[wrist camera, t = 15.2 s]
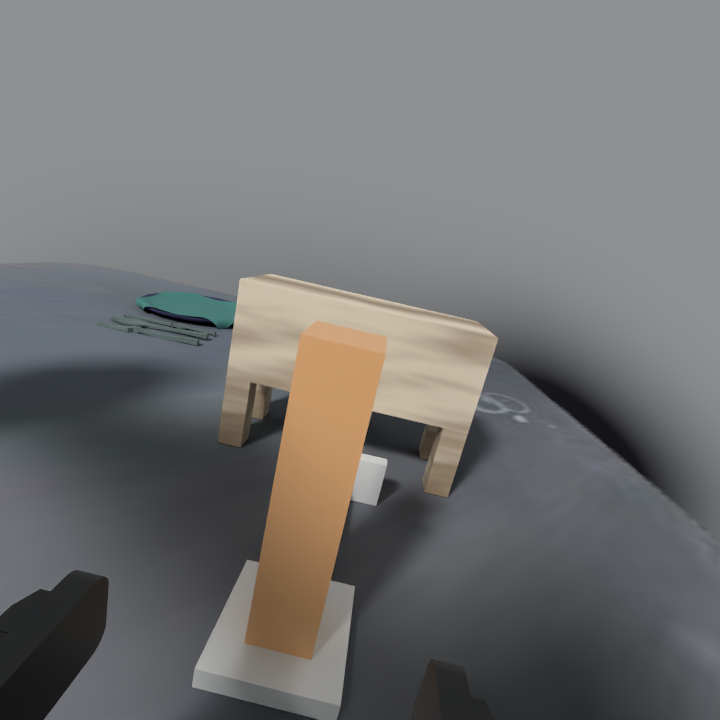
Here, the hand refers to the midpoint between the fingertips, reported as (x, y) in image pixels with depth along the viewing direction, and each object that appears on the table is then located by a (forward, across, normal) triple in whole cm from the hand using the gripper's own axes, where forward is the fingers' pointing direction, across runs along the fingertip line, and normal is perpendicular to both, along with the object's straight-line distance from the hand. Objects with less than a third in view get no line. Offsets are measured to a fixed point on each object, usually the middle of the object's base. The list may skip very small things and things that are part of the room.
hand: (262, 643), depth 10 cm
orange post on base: (+12, 0, +9) cm, 15 cm away
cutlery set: (+61, +32, +9) cm, 69 cm away
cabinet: (+27, 0, +9) cm, 28 cm away
